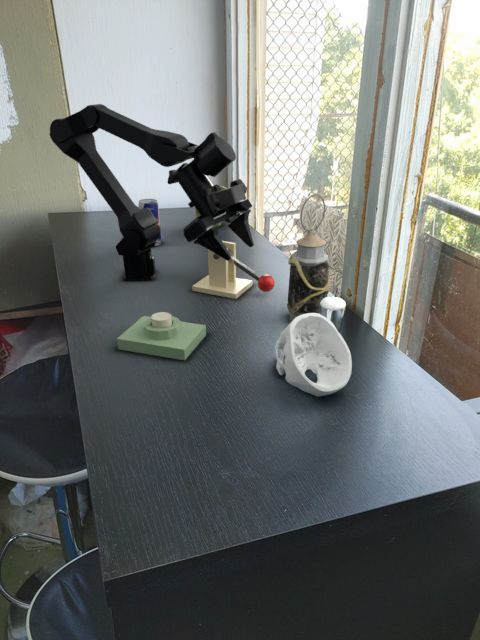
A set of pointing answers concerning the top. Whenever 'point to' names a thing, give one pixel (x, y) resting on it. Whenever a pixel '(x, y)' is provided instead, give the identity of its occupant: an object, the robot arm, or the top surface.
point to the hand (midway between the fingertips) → (241, 252)
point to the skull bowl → (314, 355)
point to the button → (161, 320)
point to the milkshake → (333, 309)
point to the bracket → (222, 276)
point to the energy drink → (154, 208)
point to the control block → (162, 338)
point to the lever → (254, 275)
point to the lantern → (308, 273)
